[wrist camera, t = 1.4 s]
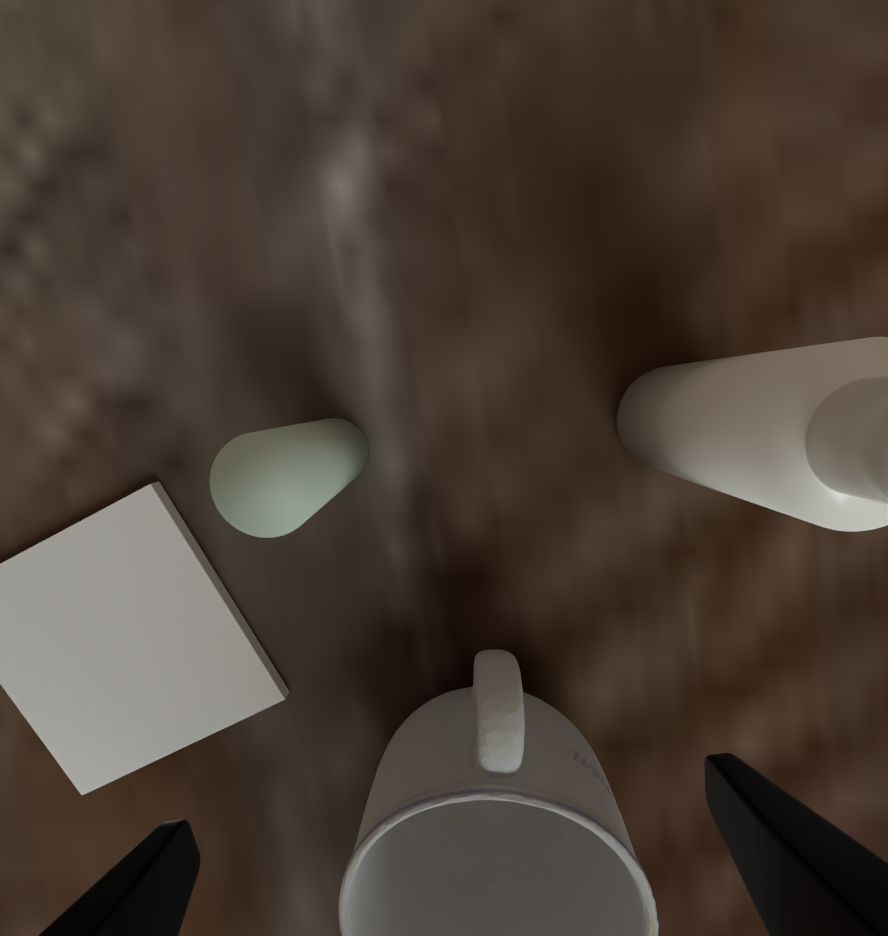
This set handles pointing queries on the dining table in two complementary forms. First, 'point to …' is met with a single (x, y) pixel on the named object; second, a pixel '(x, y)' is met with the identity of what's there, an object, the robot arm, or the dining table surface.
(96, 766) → the mat
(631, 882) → the teacup
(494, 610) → the dining table surface
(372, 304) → the dining table surface
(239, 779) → the dining table surface
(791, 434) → the vase
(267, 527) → the post
